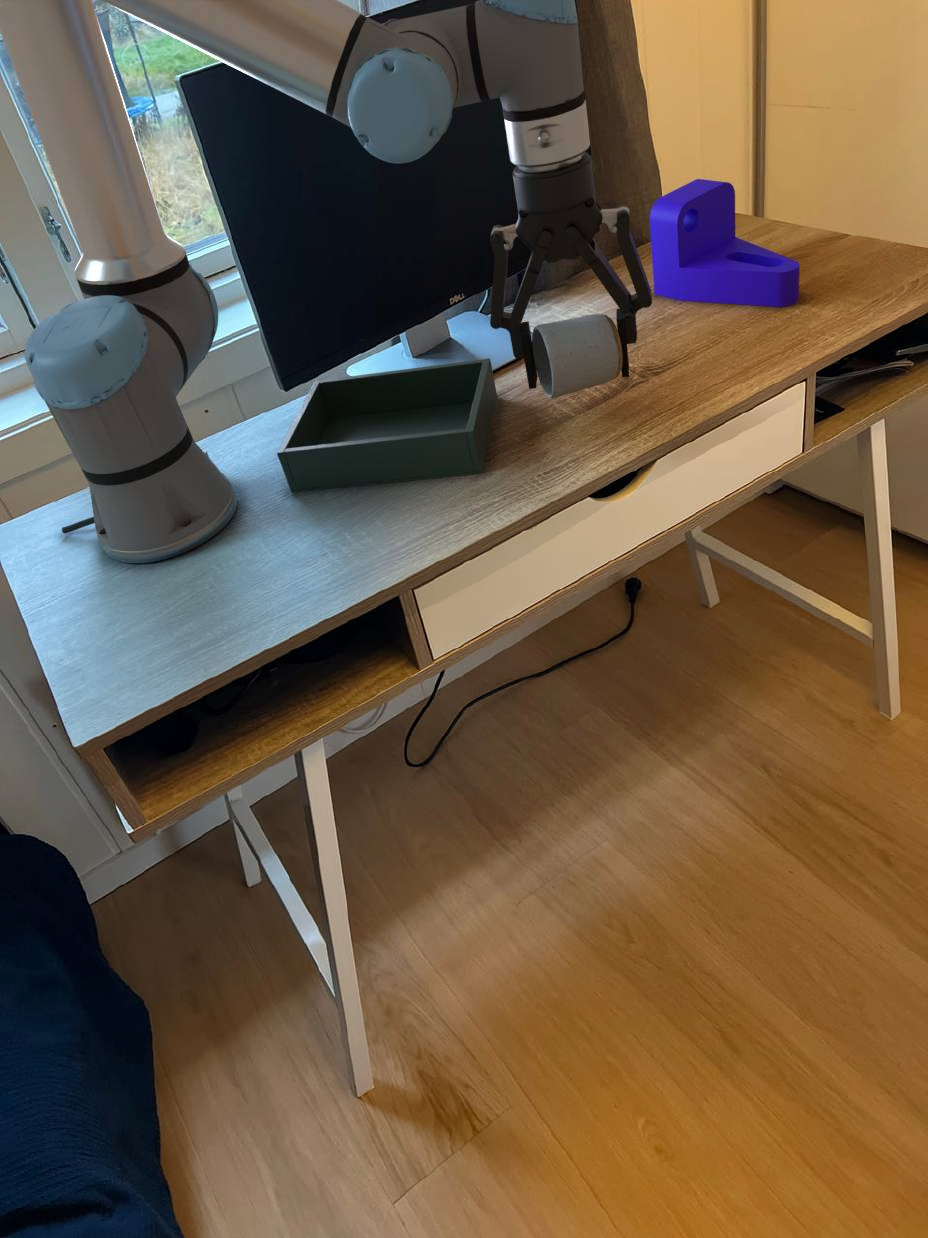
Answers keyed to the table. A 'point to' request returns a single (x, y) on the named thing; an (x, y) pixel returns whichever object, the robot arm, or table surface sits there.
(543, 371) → the ceramic mug
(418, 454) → the tote
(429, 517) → the table surface
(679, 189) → the bracket
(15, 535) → the table surface
